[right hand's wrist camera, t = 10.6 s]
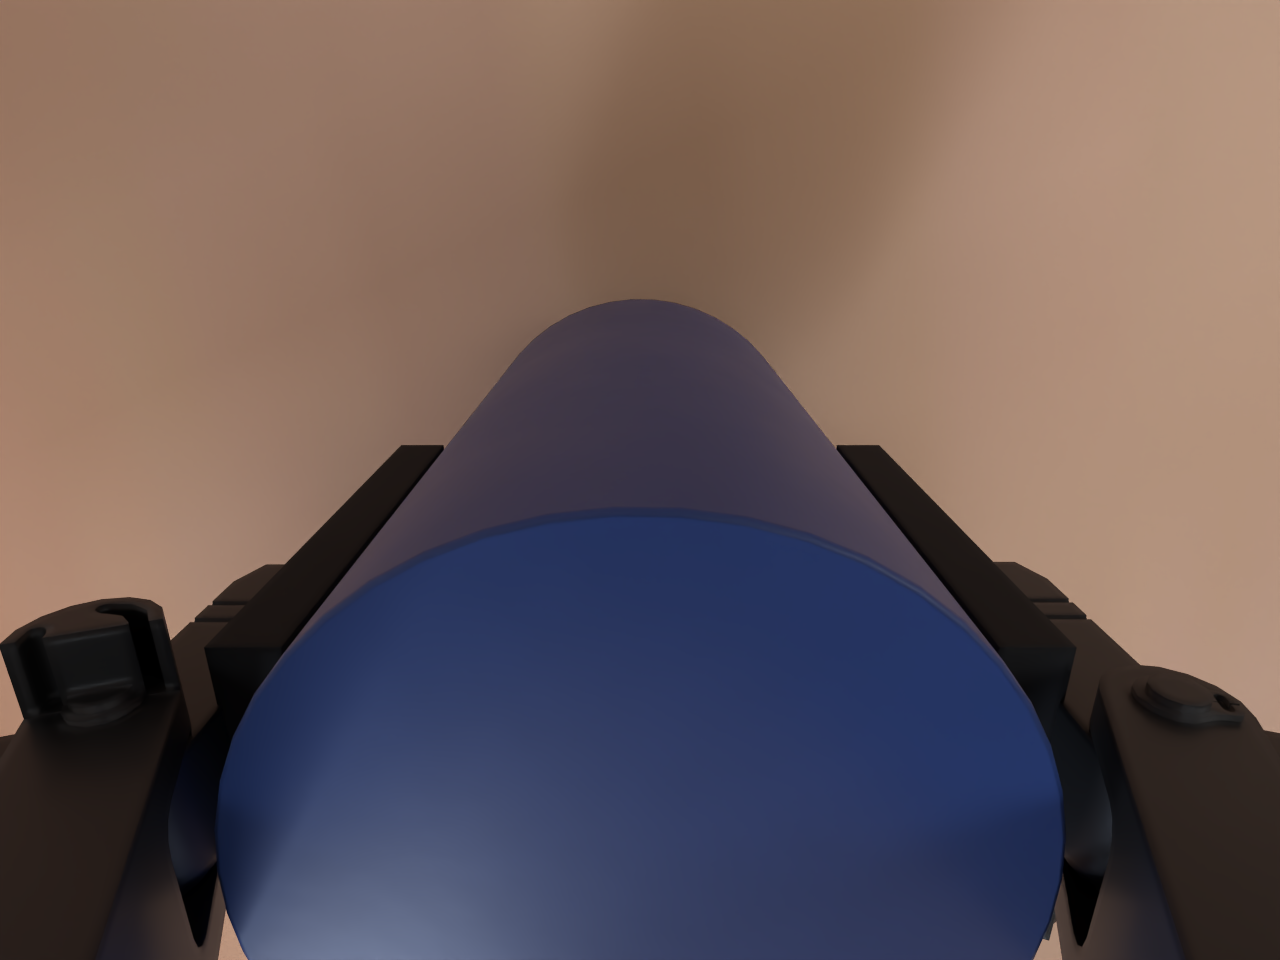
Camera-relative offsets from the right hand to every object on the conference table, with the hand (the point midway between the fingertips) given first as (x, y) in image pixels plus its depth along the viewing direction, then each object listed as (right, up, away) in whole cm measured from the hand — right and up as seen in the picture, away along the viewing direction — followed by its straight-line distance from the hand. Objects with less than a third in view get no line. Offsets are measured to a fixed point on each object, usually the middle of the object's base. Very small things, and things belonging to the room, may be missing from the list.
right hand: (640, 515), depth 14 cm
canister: (0, +1, +3) cm, 4 cm away
